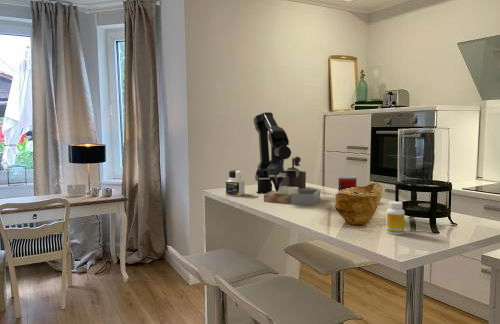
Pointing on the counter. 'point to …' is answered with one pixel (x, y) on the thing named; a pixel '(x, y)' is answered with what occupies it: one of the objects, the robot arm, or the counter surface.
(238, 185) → the medicine bottle
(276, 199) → the riser board
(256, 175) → the robot arm
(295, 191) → the cream tile
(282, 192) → the sage tile
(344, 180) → the canned food
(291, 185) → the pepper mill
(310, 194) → the box
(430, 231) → the counter surface
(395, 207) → the supplement bottle
